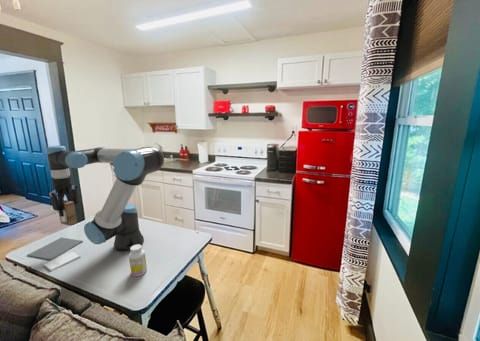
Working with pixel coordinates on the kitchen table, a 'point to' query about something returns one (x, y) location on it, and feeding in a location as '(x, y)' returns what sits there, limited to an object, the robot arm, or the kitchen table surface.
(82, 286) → the kitchen table surface
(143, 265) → the supplement bottle
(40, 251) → the mat
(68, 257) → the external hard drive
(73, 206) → the brown box
